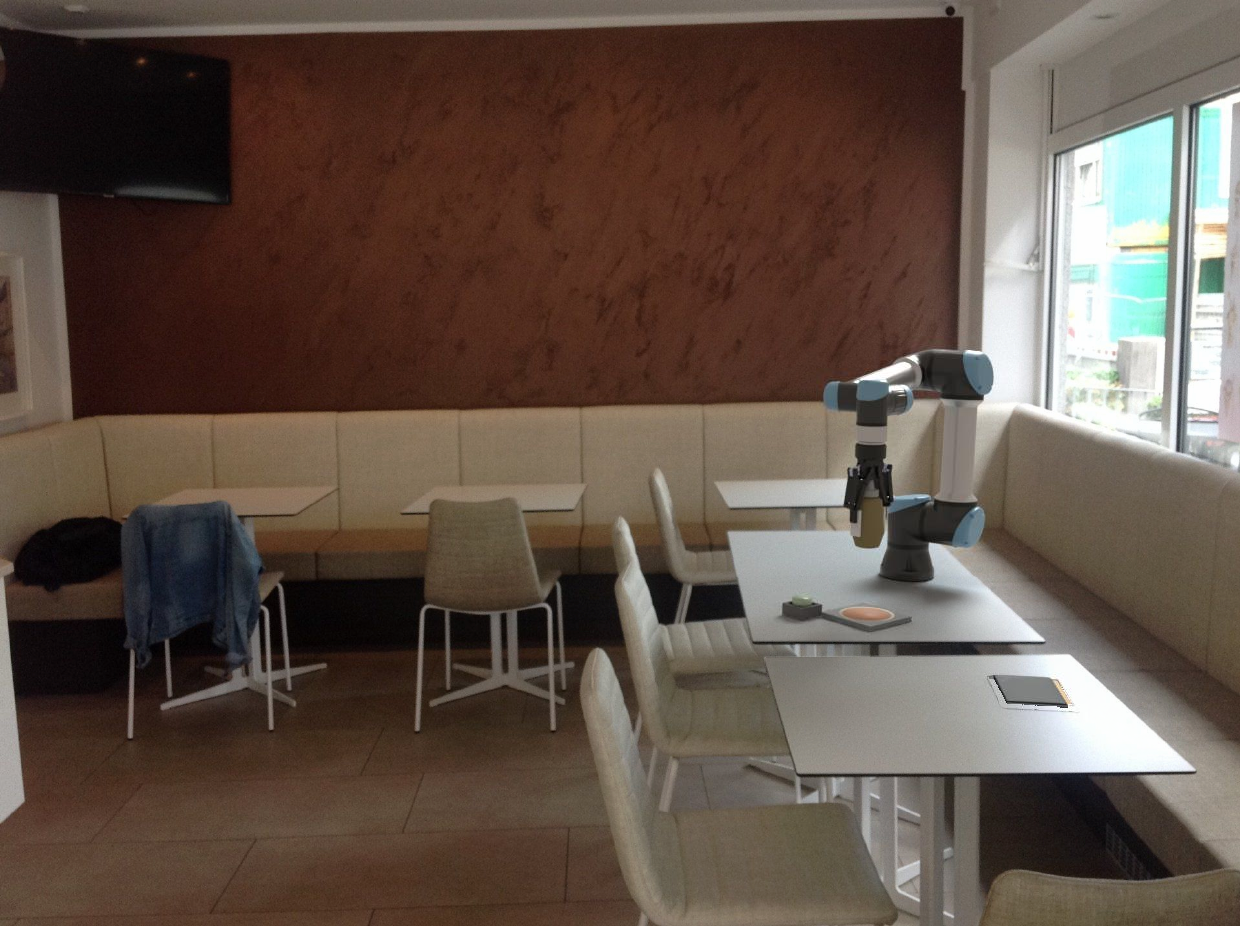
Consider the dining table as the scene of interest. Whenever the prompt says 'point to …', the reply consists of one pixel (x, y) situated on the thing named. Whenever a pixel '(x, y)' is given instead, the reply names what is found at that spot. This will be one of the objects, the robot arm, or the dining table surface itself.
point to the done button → (802, 600)
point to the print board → (866, 616)
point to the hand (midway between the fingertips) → (867, 533)
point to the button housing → (802, 611)
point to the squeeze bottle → (870, 519)
